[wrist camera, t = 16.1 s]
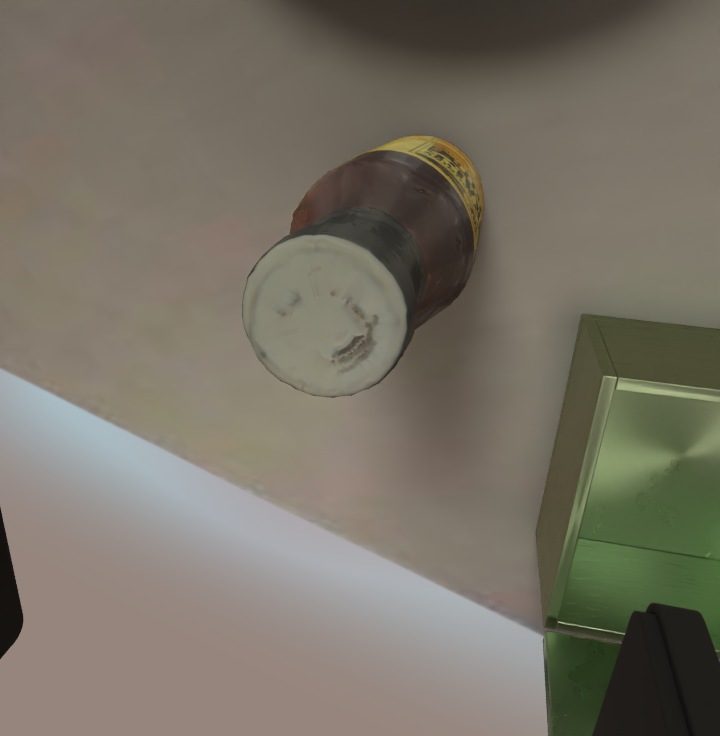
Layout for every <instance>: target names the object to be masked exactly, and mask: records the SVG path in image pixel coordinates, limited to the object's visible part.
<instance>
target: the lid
mask: <svg viewBox="0 0 720 736" xmlns="http://www.w3.org/2000/svg"><path fill="white" fill-rule="evenodd" d="M621 645H622V644H616V643H611V642H605V641H600V640H594V639H589V638H583V637H578V636H572V635H567V634H561V633H556V632H550V631H546V632H545V635H544V639H543V651H544V668H545V686H546V704H547V722H548V736H592V734H593V731H594V728H595V725H596V722H597V719H598V716H599V712H600V709H601V706H602V703H603V700H604V697H605V694H606V691H607V688H608V685H609V682H610V679H611V675H612V672H613V669H614V666H615V663H616V660H617V657H618V654H619V651H620V648H621Z"/></svg>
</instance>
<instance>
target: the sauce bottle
mask: <svg viewBox="0 0 720 736" xmlns="http://www.w3.org/2000/svg"><path fill="white" fill-rule="evenodd" d="M483 208H484V197H483V189H482V184H481V181H480V178H479V174H478V172H477V171H476V169H475V167H474V166H473V164H472V162H471V161H470V159H469V158H468V157H467V156H466V155H465V154H464V153H463V152H462V151H461V150H459V149H458V148H457V147H455V146H454V145H452V144H451V143H449V142H446V141H444V140H442V139H439V138H437V137H432V136H426V135H417V136H408V137H403V138H400V139H397V140H394V141H392V142H389V143H387V144H385V145H383V146H380V147H377V148H375V149H373V150H370V151H368V152H365V153H362V154H360V155H357V156H355V157H353V158H351V159H349V160H347V161H346V162H344V163H343V164H342V165H340V166H339V167H337V168H335V169H333V170H332V171H328V172H327V174H325V175H324V176H323V177H322V178H321V179H319V180H318V181H317V182H316V183H315V184H314V185H313V186H312V188H311V189H310V190H309V191H308V192H307V193H306V195H305V197H304V198H303V199H302V201H301V202H300V204H299V206H298V208H297V209H296V210H295V211H294V213H293V220H292V223H291V230H290V235H288V236H286V237H284V238H283V239H282V240H280V241H279V242H277V243H276V244H275V245H274V246H273V247H272V248H271V249H269V250H268V251H267V252H266V253H265V254H264V255H263V256H262V257H261V258H260V260H259V261H258V262H257V263H256V265H255V266H254V268H253V269H252V271H251V272H250V274H249V276H248V277H247V284H246V287H245V290H244V294H243V302H242V318H243V324H244V328H245V331H246V334H247V336H248V338H249V340H250V342H251V344H252V347H253V349H254V351H255V353H256V356H257V358H258V359H259V360H260V362H261V363H262V364H263V365H264V366H265V368H266V369H267V370H268V371H269V372H271V373H272V374H273V375H274V376H275V377H276V378H278V379H279V380H280V381H282V382H284V383H286V384H289V385H291V386H292V387H294V388H295V389H297V390H300V391H303V392H306V393H308V394H311V395H313V396H323V397H332V398H334V397H338V396H351V395H354V394H356V393H358V392H360V391H363V390H366V389H369V388H371V387H373V386H375V385H376V384H378V383H380V382H381V381H382V380H383V379H384V378H385V377H386V376H387V375H388V374H389V372H390V371H391V370H392V369H393V368H394V367H395V366H396V365H397V363H398V361H399V359H400V358H401V357H402V355H403V353H404V351H405V350H406V348H407V346H408V344H409V343H410V341H411V339H412V336H413V334H414V330H415V329H417V328H418V327H419V326H421V325H422V324H424V323H425V322H426V321H428V320H429V319H431V318H432V317H433V316H435V315H436V314H438V313H439V312H440V311H442V310H443V309H445V308H446V307H447V306H449V305H450V304H451V303H452V302H453V301H454V300H455V299H456V298H457V297H458V296H459V294H460V293H461V291H462V290H463V289H464V287H465V285H466V283H467V281H468V278H469V276H470V273H471V270H472V266H473V263H474V260H475V252H476V247H477V245H478V240H479V234H480V226H481V221H482V215H483Z"/></svg>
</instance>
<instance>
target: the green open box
mask: <svg viewBox="0 0 720 736" xmlns="http://www.w3.org/2000/svg"><path fill="white" fill-rule="evenodd" d="M536 543H537V555H538V567H539V578H540V590H541V602H542V614H543V626H544V628H548V629H553V630H555V629H556V630H559V631H565V632H570V633H576V634H581V635H587V636H592V637H598V638H603V639H609V640H614V641H620V642H622V641H623V638H624V635H625V632H626V629H627V626H628V623H629V620H630V617H631V615H632V613H633V612H634V611H640V612H646V610H647V607H648V606H649V605H650V604H651V603H659V604H664V605H670V606H675V607H680V608H686V609H691V610H696V611H698V612H700V613H701V614H702V616H703V618H704V620H705V623H706V626H707V629H708V631H709V634H710V637H711V640H712V643H713V645H714V648H715V651H716V654H717V657H718V659H719V660H720V329H712V328H703V327H694V326H685V325H676V324H667V323H658V322H649V321H640V320H631V319H622V318H613V317H605V316H596V315H587V314H582V316H581V320H580V325H579V330H578V335H577V339H576V344H575V349H574V354H573V358H572V363H571V368H570V372H569V377H568V382H567V387H566V391H565V396H564V401H563V406H562V410H561V415H560V420H559V425H558V429H557V434H556V439H555V444H554V448H553V453H552V458H551V463H550V467H549V472H548V477H547V481H546V486H545V491H544V496H543V500H542V505H541V510H540V515H539V519H538V524H537V529H536Z"/></svg>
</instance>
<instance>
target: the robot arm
mask: <svg viewBox="0 0 720 736" xmlns="http://www.w3.org/2000/svg"><path fill="white" fill-rule="evenodd" d="M22 625H23V613H22V609H21V603H20V599H19V594H18V589H17V584H16V580H15V575H14V570H13V565H12V561H11V556H10V552H9V546H8V542H7V537H6V532H5V528H4V523H3V519H2V513H1V509H0V659H1V658H2V656H3V655H4V654H5V653H6V652H7V651H8V649H9V648H10V647H11V646H12V645H13V644H14V642H15V641H16V639H17V638H18V636H19V634H20V632H21V629H22ZM592 736H720V662H719V659H718V657H717V654H716V651H715V648H714V645H713V643H712V640H711V637H710V634H709V631H708V629H707V626H706V623H705V620H704V618H703V616H702V614H701V613H700V612H698V611H696V610H691V609H686V608H680V607H675V606H670V605H664V604H659V603H651V604H650V605H649V606H648V607H647V610H646V612H640V611H634V612H633V613H632V615H631V617H630V620H629V623H628V626H627V629H626V632H625V635H624V638H623V641H622V645H621V648H620V651H619V654H618V657H617V660H616V663H615V666H614V669H613V672H612V675H611V679H610V682H609V685H608V688H607V691H606V694H605V697H604V700H603V703H602V706H601V709H600V712H599V716H598V719H597V722H596V725H595V728H594V731H593V734H592Z"/></svg>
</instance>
